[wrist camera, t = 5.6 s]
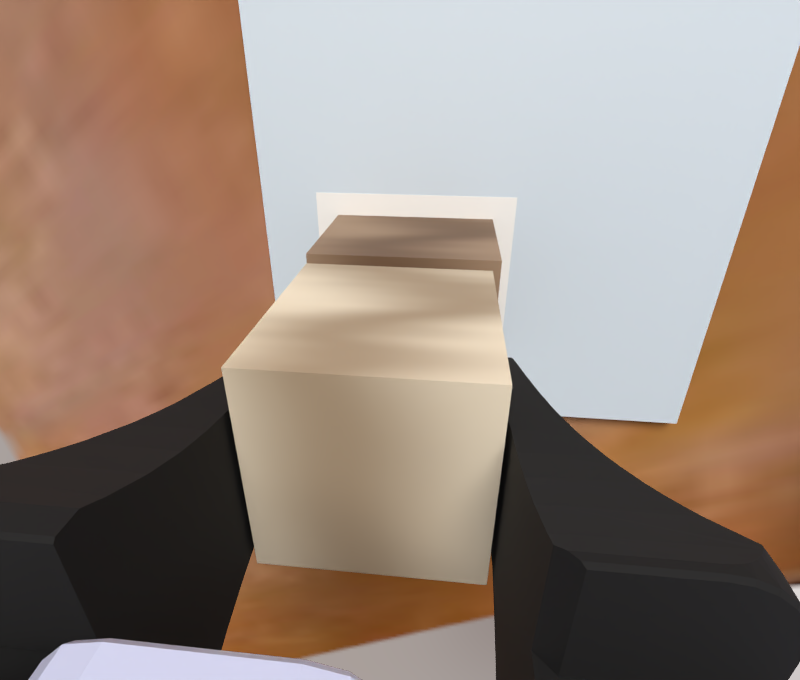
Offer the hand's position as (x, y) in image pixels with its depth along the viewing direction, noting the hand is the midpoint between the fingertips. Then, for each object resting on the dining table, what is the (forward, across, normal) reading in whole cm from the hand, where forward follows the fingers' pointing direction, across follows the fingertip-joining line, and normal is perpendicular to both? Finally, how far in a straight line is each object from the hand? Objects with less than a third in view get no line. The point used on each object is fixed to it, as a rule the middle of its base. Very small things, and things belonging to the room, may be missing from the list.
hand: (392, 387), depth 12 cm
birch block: (+1, 0, 0) cm, 1 cm away
